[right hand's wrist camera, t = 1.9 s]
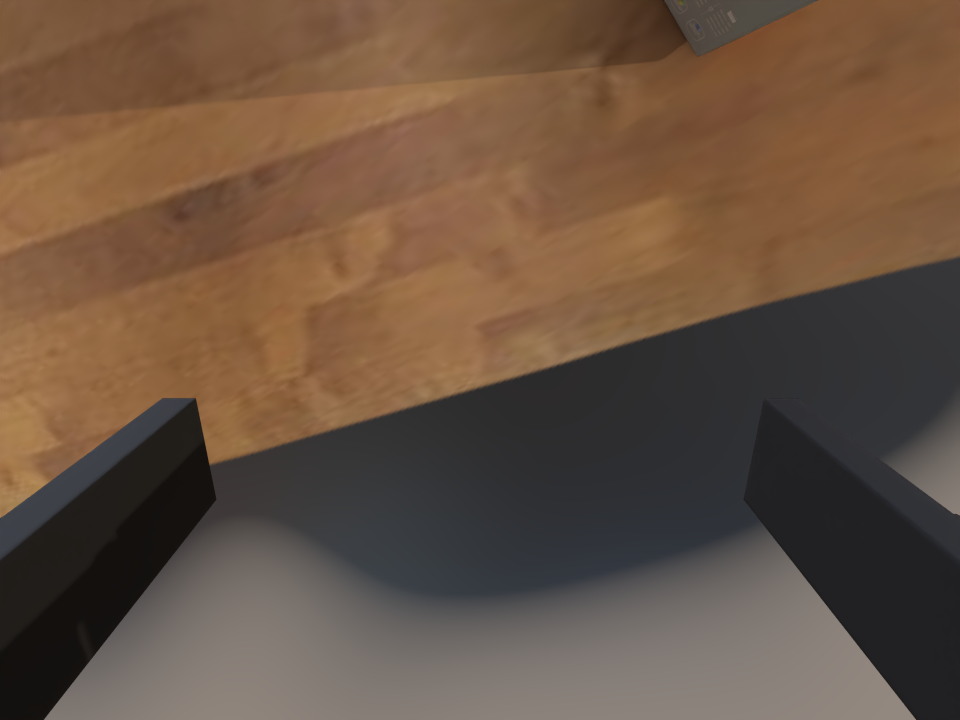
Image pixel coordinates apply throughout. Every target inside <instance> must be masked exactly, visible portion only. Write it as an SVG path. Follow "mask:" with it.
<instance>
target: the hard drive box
mask: <svg viewBox="0 0 960 720" xmlns="http://www.w3.org/2000/svg"><path fill="white" fill-rule="evenodd" d="M664 1H665V3H666V5H667V6H668V8H669V10H670V11H671V13H672V15H673V17H674V18H675V20H676V22H677V24H678V25H679V27H680V29H681V31H682V32H683V34H684V36H685V37H686V39H687V41H688V42H689V44H690V46H691V47H692V49H693V51H694V52H695V54H696V55H697V56H701V55H703V54H705V53H708V52H710V51H712V50H714V49H716V48H719V47H721V46H723V45H725V44H728V43H730V42H732V41H734V40H736V39H738V38H740V37H742V36H744V35H747V34H749V33H751V32H753V31H755V30H757V29H759V28H761V27H763V26H765V25H767V24H769V23H772V22H774V21H776V20H778V19H780V18H782V17H784V16H786V15H788V14H790V13H792V12H795V11H797V10H799V9H801V8H803V7H805V6H807V5H809V4H811V3H813V2H816V1H818V0H664Z"/></svg>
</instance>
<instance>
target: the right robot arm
mask: <svg viewBox="0 0 960 720" xmlns="http://www.w3.org/2000/svg"><path fill="white" fill-rule="evenodd" d="M215 501H216V495H215V491H214V486H213V481H212V476H211V471H210V466H209V461H208V456H207V451H206V446H205V441H204V436H203V432H202V427H201V422H200V417H199V412H198V407H197V402H196V398H162V399H161V400H160V401H158V402H157V403H156V404H154V405H153V406H152V407H150V408H149V409H148V410H146V411H145V412H144V413H142V414H141V415H139V416H138V417H137V418H135V419H134V420H133V421H131V422H130V423H129V424H127V425H126V426H125V427H123V428H122V429H121V430H119V431H118V432H117V433H115V434H114V435H113V436H111V437H110V438H108V439H107V440H106V441H104V442H103V443H102V444H100V445H99V446H98V447H96V448H95V449H94V450H92V451H91V452H90V453H88V454H87V455H86V456H84V457H83V458H81V459H80V460H79V461H77V462H76V463H75V464H73V465H72V466H71V467H69V468H68V469H67V470H65V471H64V472H63V473H61V474H60V475H59V476H57V477H56V478H55V479H53V480H52V481H50V482H49V483H48V484H46V485H45V486H44V487H42V488H41V489H40V490H38V491H37V492H36V493H34V494H33V495H32V496H30V497H29V498H28V499H26V500H25V501H24V502H22V503H21V504H19V505H18V506H17V507H15V508H14V509H13V510H11V511H10V512H9V513H7V514H6V515H5V516H3V517H1V518H0V720H44V719H45V717H46V716H47V715H48V714H49V712H50V711H51V710H52V709H53V707H54V706H55V705H56V703H57V702H58V701H59V700H60V698H61V697H62V696H63V694H64V693H65V692H66V691H67V689H68V688H69V687H70V685H71V684H72V683H73V682H74V680H75V679H76V678H77V677H78V675H79V674H80V673H81V672H82V670H83V669H84V668H85V666H86V665H87V664H88V663H89V661H90V660H91V659H92V657H93V656H94V655H95V654H96V652H97V651H98V650H99V649H100V647H101V646H102V645H103V643H104V642H105V641H106V640H107V638H108V637H109V636H110V634H111V633H112V632H113V631H114V629H115V628H116V627H117V626H118V624H119V623H120V622H121V620H122V619H123V618H124V617H125V615H126V614H127V613H128V612H129V610H130V609H131V608H132V606H133V605H134V604H135V603H136V601H137V600H138V599H139V598H140V596H141V595H142V594H143V592H144V591H145V590H146V589H147V587H148V586H149V585H150V583H151V582H152V581H153V580H154V578H155V577H156V576H157V574H158V573H159V572H160V571H161V569H162V568H163V567H164V566H165V564H166V563H167V562H168V560H169V559H170V558H171V557H172V555H173V554H174V553H175V552H176V550H177V549H178V548H179V546H180V545H181V544H182V543H183V541H184V540H185V539H186V538H187V536H188V535H189V534H190V532H191V531H192V530H193V529H194V527H195V526H196V525H197V523H198V522H199V521H200V520H201V518H202V517H203V516H204V515H205V513H206V512H207V511H208V509H209V508H210V507H211V506H212V504H213V503H214V502H215ZM744 501H745V502H746V503H747V504H748V506H749V507H750V508H751V509H752V511H753V512H754V513H755V514H756V516H757V517H758V518H759V520H760V521H761V522H762V523H763V525H764V526H765V527H766V529H767V530H768V531H769V532H770V534H771V535H772V536H773V538H774V539H775V540H776V541H777V543H778V544H779V545H780V546H781V548H782V549H783V550H784V552H785V553H786V554H787V555H788V557H789V558H790V559H791V560H792V562H793V563H794V564H795V566H796V567H797V568H798V569H799V571H800V572H801V573H802V575H803V576H804V577H805V578H806V580H807V581H808V582H809V583H810V585H811V586H812V587H813V589H814V590H815V591H816V592H817V594H818V595H819V596H820V597H821V599H822V600H823V601H824V603H825V604H826V605H827V606H828V608H829V609H830V610H831V612H832V613H833V614H834V615H835V617H836V618H837V619H838V620H839V622H840V623H841V624H842V626H843V627H844V628H845V629H846V631H847V632H848V633H849V634H850V636H851V637H852V638H853V640H854V641H855V642H856V643H857V645H858V646H859V647H860V649H861V650H862V651H863V652H864V654H865V655H866V656H867V657H868V659H869V660H870V661H871V663H872V664H873V665H874V666H875V668H876V669H877V670H878V671H879V673H880V674H881V675H882V677H883V678H884V679H885V680H886V682H887V683H888V684H889V685H890V687H891V688H892V689H893V691H894V692H895V693H896V694H897V696H898V697H899V698H900V700H901V701H902V702H903V703H904V705H905V706H906V707H907V709H908V710H909V711H910V712H911V714H912V715H913V716H914V717H915V719H916V720H960V516H959V515H957V514H953V513H951V512H950V511H949V510H947V509H946V508H945V507H943V506H942V505H941V504H939V503H938V502H936V501H935V500H934V499H932V498H931V497H930V496H928V495H927V494H926V493H924V492H923V491H922V490H920V489H919V488H918V487H916V486H915V485H914V484H912V483H911V482H910V481H908V480H907V479H905V478H904V477H903V476H901V475H900V474H899V473H897V472H896V471H895V470H893V469H892V468H891V467H889V466H888V465H887V464H885V463H884V462H882V461H881V460H880V459H879V458H877V457H876V456H874V455H873V454H872V453H870V452H869V451H868V450H866V449H865V448H864V447H862V446H861V445H860V444H858V443H857V442H855V441H854V440H853V439H852V438H850V437H849V436H847V435H846V434H845V433H843V432H842V431H841V430H839V429H838V428H837V427H835V426H834V425H833V424H831V423H830V422H829V421H827V420H826V419H825V418H823V417H822V416H821V415H819V414H818V413H816V412H815V411H814V410H812V409H811V408H810V407H808V406H807V405H806V404H804V403H803V402H802V401H800V400H799V399H797V398H764V402H763V407H762V412H761V417H760V422H759V427H758V431H757V436H756V441H755V446H754V451H753V456H752V461H751V466H750V471H749V476H748V481H747V486H746V491H745V495H744Z"/></svg>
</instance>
